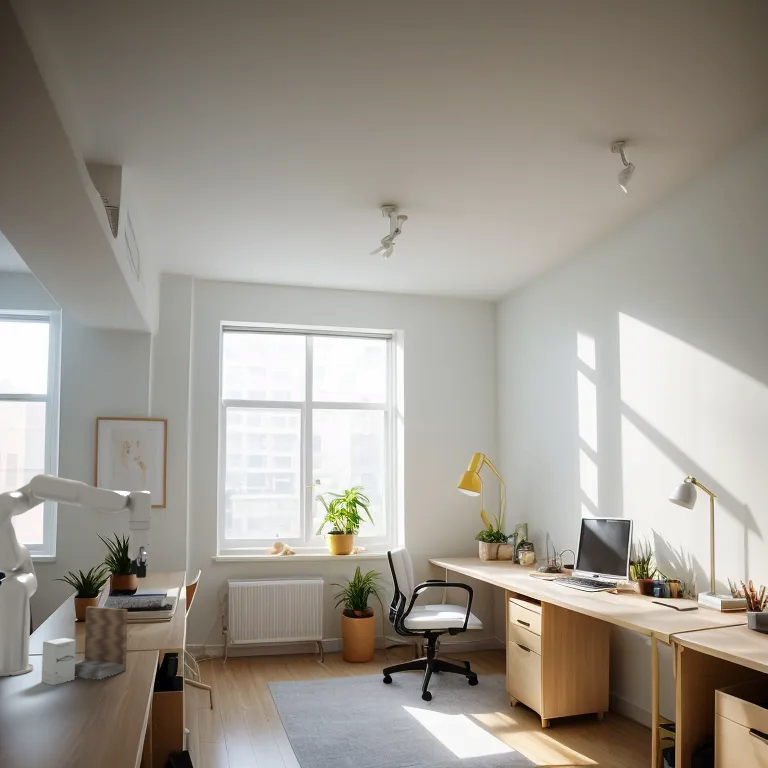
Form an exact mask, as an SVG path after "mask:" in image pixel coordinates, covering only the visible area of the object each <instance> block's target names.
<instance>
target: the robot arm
mask: <svg viewBox="0 0 768 768" xmlns="http://www.w3.org/2000/svg"><path fill="white" fill-rule="evenodd" d="M46 501H49V502H54V503H59V504H64V505H70V506H73V507H74V506H75V507H77V508H78V507H79V508H84V509H85V508H86V509H90V510H95V511H100V512H104V513H109V514H110V513H111V514H118V513H121V512H126V511H127V512H128V521H127V522H128V524H127V530H128V531H127V532H129V536H128V551H127V557H128V559H130V567H129V569H130V570H129V575H130V576H133V575H135V577H136V579H142V578H146V577H147V558H148V555H149V554H148V553H149V552H148V550H149V540H148V538H149V535H148V533H149V532H148V531H151V529H152V528H151V527H152V526H151V525H152V518H151V517H152V493H151V492H150V491H148V490H138V491H137V490H133V491H127V490H126V491H125V490H111V489H105V488H102V487H97V486H92V485H89V484H87V483H85V482H83V481H80V480H74V479H69V478H63V477H60V476H59V477H58V476H54V475H53V474H49V473H42V474H37V475H34V476H33V477H32V478H31V479H30V481H29V483H27V484H26V485H23V486H22V487H20V488H18V489H15V490H14V491H12V490H10V491H4V492H2V493H0V573H3V574H4V575H5V580H3V581H2V582H1V584H0V677H10V676H9V675H12V676H17V675H23V674H26V673H29V672H32V671H33V670H34V665H33V664H31V663H30V661H29V660H30V659H29V658H30V655H29V654H30V632H31V631H30V630H31V607H30V605H31V604H30V598H31V597H32V596H33V595H34V594H35V593H36V591H37V588H38V579H37V574H36V571H35V567H34V563H33V559H32V556H31V552H30V550H29V549H28V548H27V546H26V545H24V544H23V543H20V542H18V539H17V536H16V535H17V534H16V530H15V528H14V526H13V523H12V517H15V516H19V515H23V514H25V513H27V512H29V511H30V510H32V509H34V508H35V507H37V506H39V505H42V503H44V502H46Z"/></svg>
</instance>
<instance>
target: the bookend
mask: <svg viewBox="0 0 768 768" xmlns="http://www.w3.org/2000/svg"><path fill="white" fill-rule="evenodd" d="M84 628H85V629H84V630H85V631H84V632H85V634H84V638H85V639H84V659H82V660H79V661H75V676H77V677H76V678H80V677H85V678H84V679H88V678H95V679H100V680H102V679H101V678H103V677H106V676H109V675H112V674H115V673H118V674H120V673H119V672H121V673H123V672H122V671H124V672H126V671H127V644H128V643H127V641H128V637H127V636H128V609H127V608H118V607H117V608H114V607H105V606H103V607H102V606H101V607H100V606H90V605H89V606H86V607H85V627H84ZM125 670H126V671H125ZM115 675H116V674H115ZM112 676H113V675H112ZM109 677H110V676H109ZM106 678H107V677H106ZM95 679H94V680H95ZM103 679H104V678H103Z"/></svg>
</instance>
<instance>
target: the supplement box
mask: <svg viewBox="0 0 768 768" xmlns="http://www.w3.org/2000/svg"><path fill="white" fill-rule="evenodd" d="M76 643H77V640H76V639H74V638H73V639H72V638H69V637H68V638H67V637H61V638H57V639H55V638H54V639H51V640H45V641H42V658H41V659H42V661H41V665H42V666H41V683H44V684H48V685H50V686H55V685H58V684H62V683H67V681H68V682H72V681H71V680H73V681H74V680H75V678H76V677H75V662H76V647H77V646H76V645H77V644H76Z"/></svg>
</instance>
